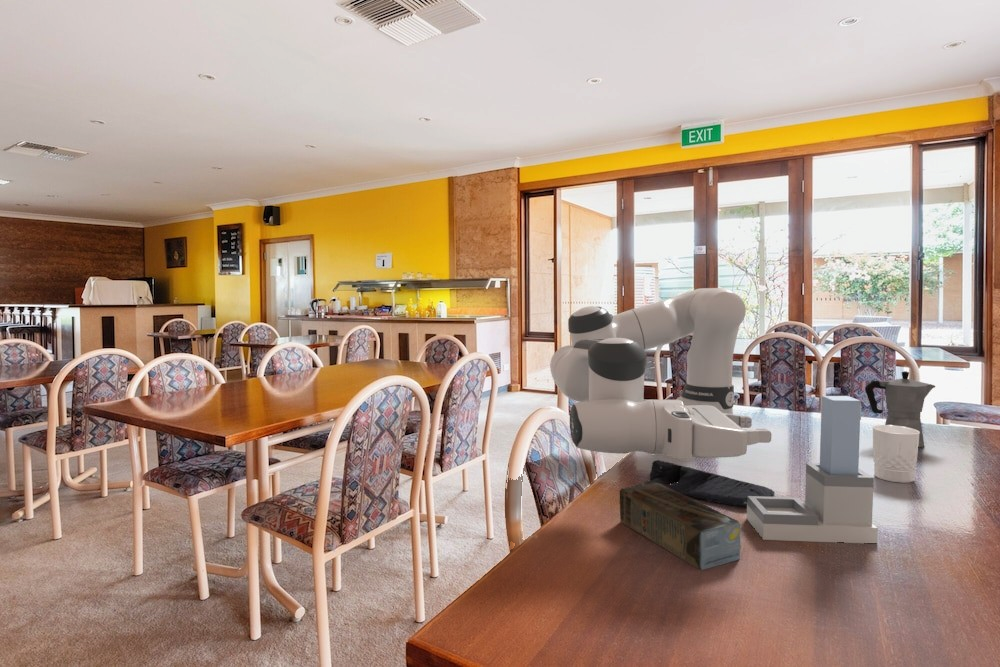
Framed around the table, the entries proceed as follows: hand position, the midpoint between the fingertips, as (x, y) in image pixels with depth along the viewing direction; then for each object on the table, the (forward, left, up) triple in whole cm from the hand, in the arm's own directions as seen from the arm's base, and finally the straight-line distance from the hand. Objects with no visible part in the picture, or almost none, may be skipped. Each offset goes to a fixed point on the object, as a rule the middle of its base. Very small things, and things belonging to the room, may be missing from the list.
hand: (759, 428), depth 93 cm
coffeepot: (-4, +77, -17) cm, 79 cm away
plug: (+9, +9, -8) cm, 15 cm away
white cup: (+5, +46, -17) cm, 49 cm away
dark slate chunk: (-16, +11, -17) cm, 26 cm away
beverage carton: (-6, -14, -17) cm, 23 cm away
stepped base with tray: (+6, +6, -16) cm, 18 cm away
